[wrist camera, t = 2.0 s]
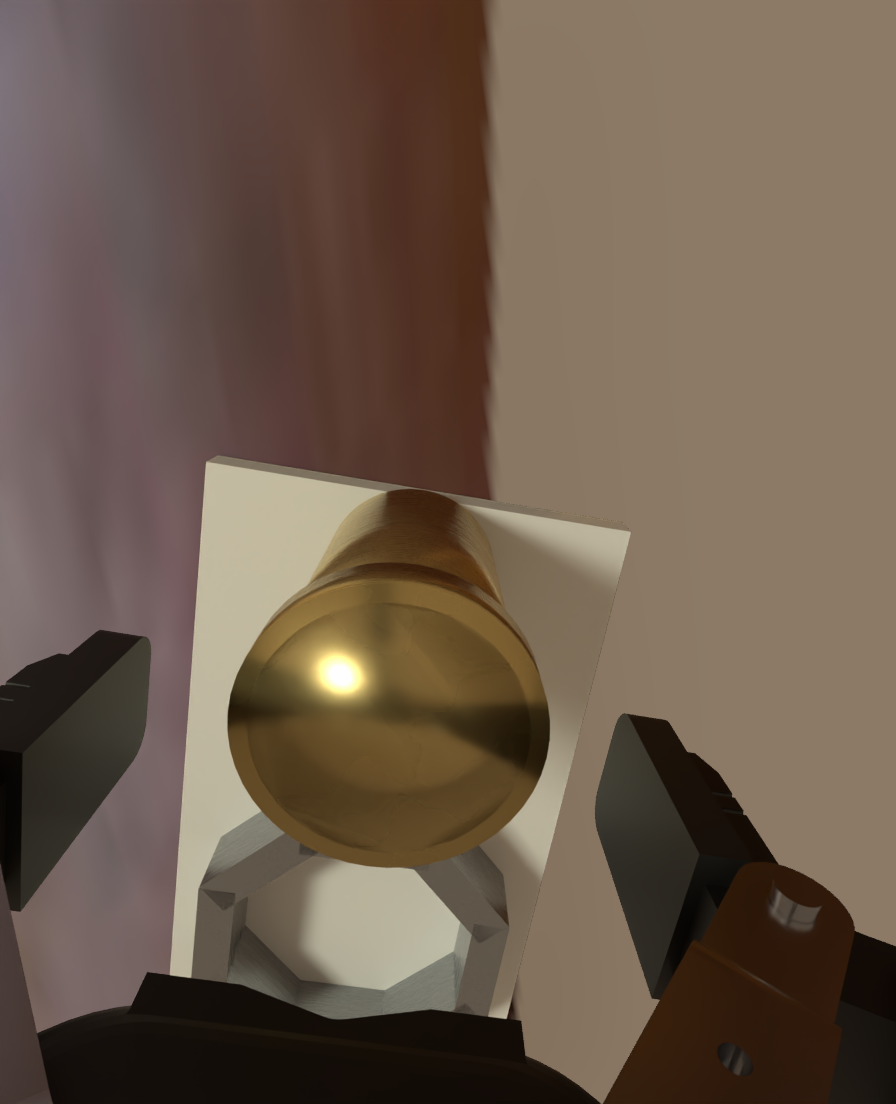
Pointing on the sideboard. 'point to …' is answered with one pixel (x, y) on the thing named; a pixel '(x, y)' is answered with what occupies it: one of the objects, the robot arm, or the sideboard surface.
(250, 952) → the grey octagonal ring
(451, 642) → the knob
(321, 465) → the sideboard surface
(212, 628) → the board
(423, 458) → the sideboard surface
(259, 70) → the sideboard surface
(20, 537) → the sideboard surface
